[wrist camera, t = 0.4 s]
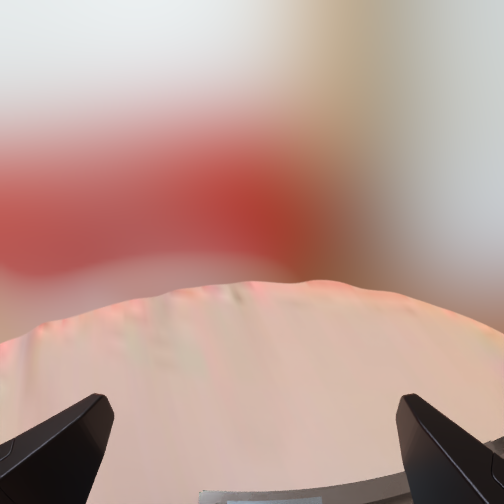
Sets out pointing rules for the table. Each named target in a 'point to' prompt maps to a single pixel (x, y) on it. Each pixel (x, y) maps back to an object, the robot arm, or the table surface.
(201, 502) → the rail
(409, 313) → the table surface
